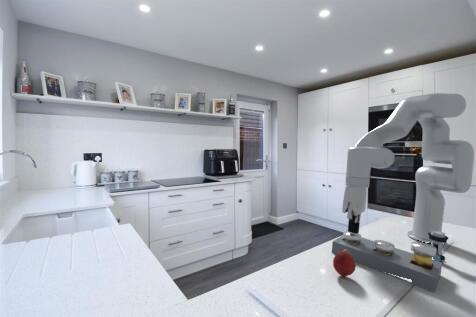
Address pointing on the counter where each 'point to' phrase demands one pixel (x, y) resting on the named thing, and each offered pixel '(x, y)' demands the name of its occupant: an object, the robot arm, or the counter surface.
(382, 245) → the knob middle
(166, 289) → the counter surface
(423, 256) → the knob
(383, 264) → the knob panel
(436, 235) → the push button
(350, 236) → the knob
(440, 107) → the robot arm
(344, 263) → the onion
